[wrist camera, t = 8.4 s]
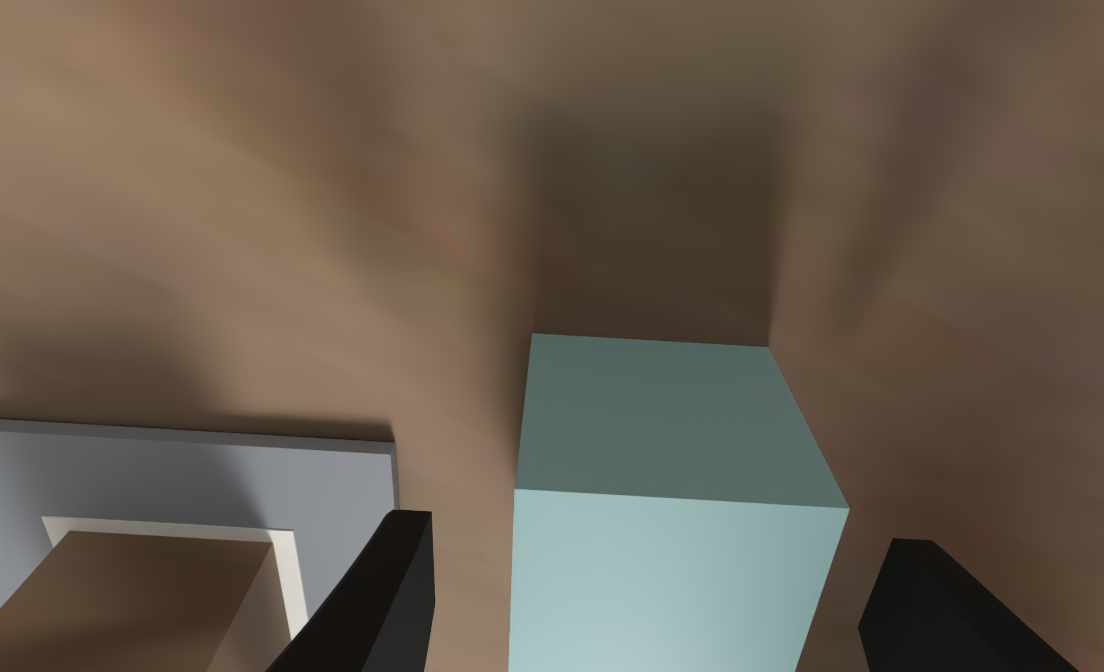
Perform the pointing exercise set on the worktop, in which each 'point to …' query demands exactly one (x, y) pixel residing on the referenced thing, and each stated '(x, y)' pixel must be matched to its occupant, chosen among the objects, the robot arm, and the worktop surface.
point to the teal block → (665, 510)
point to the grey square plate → (195, 496)
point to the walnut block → (146, 607)
